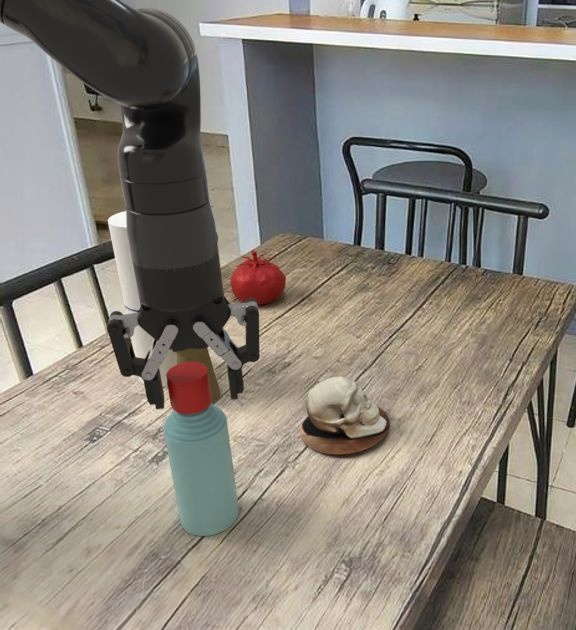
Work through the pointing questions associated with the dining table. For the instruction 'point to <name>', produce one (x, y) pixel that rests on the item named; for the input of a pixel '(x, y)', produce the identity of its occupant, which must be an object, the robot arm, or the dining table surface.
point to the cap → (189, 387)
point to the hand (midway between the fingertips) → (198, 399)
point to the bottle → (202, 470)
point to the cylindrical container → (133, 292)
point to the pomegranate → (257, 280)
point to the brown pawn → (203, 358)
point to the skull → (342, 418)
